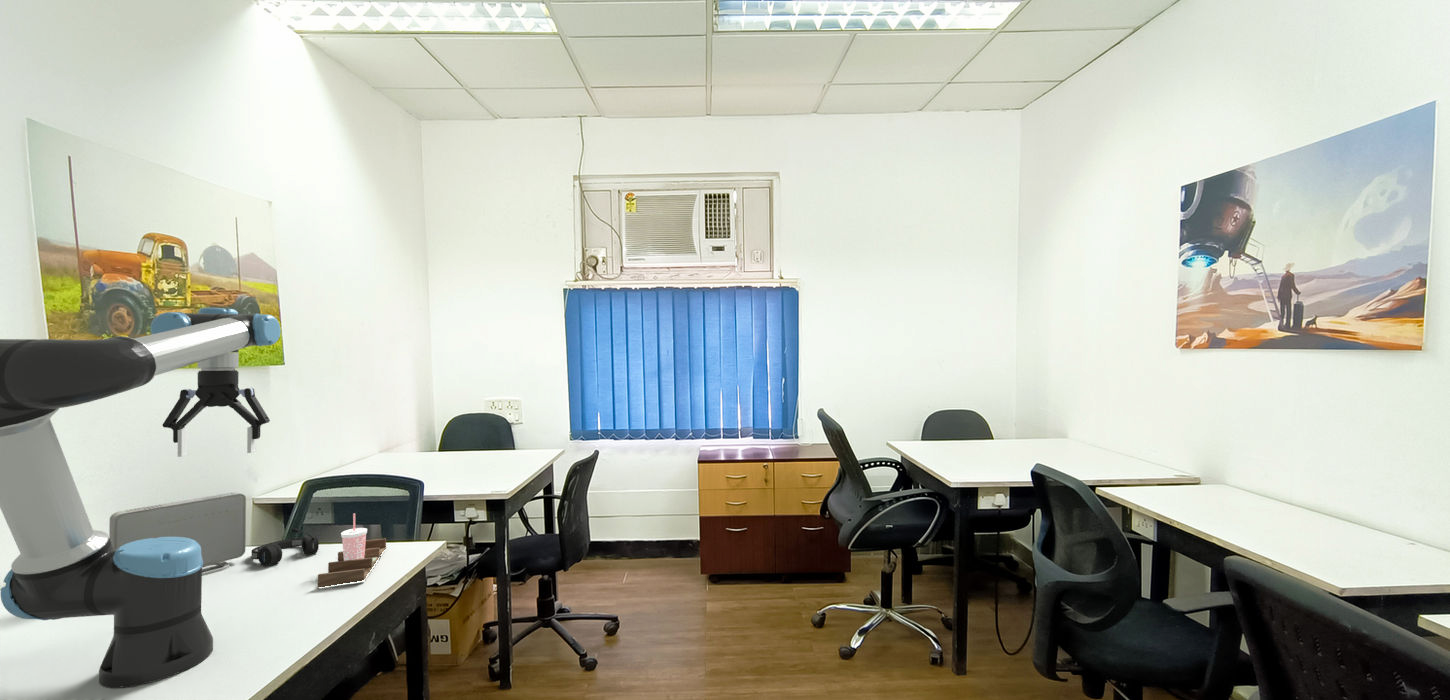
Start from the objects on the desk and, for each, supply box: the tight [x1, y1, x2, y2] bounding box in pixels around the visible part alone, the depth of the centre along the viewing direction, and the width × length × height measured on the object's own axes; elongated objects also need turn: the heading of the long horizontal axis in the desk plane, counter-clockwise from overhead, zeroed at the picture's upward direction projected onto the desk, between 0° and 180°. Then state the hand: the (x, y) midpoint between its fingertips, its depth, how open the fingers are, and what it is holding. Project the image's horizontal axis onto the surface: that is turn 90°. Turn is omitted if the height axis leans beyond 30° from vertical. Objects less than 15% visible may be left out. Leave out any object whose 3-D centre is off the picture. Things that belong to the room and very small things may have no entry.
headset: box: [251, 528, 320, 567], centre depth 159 cm, size 14×10×20 cm
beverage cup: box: [340, 512, 368, 561], centre depth 151 cm, size 6×6×14 cm
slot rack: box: [317, 537, 387, 588], centre depth 151 cm, size 26×10×4 cm, turn 21°
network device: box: [108, 491, 247, 577], centre depth 145 cm, size 26×9×20 cm, turn 148°
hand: (217, 454), depth 135 cm, fingers open, 13 cm apart
